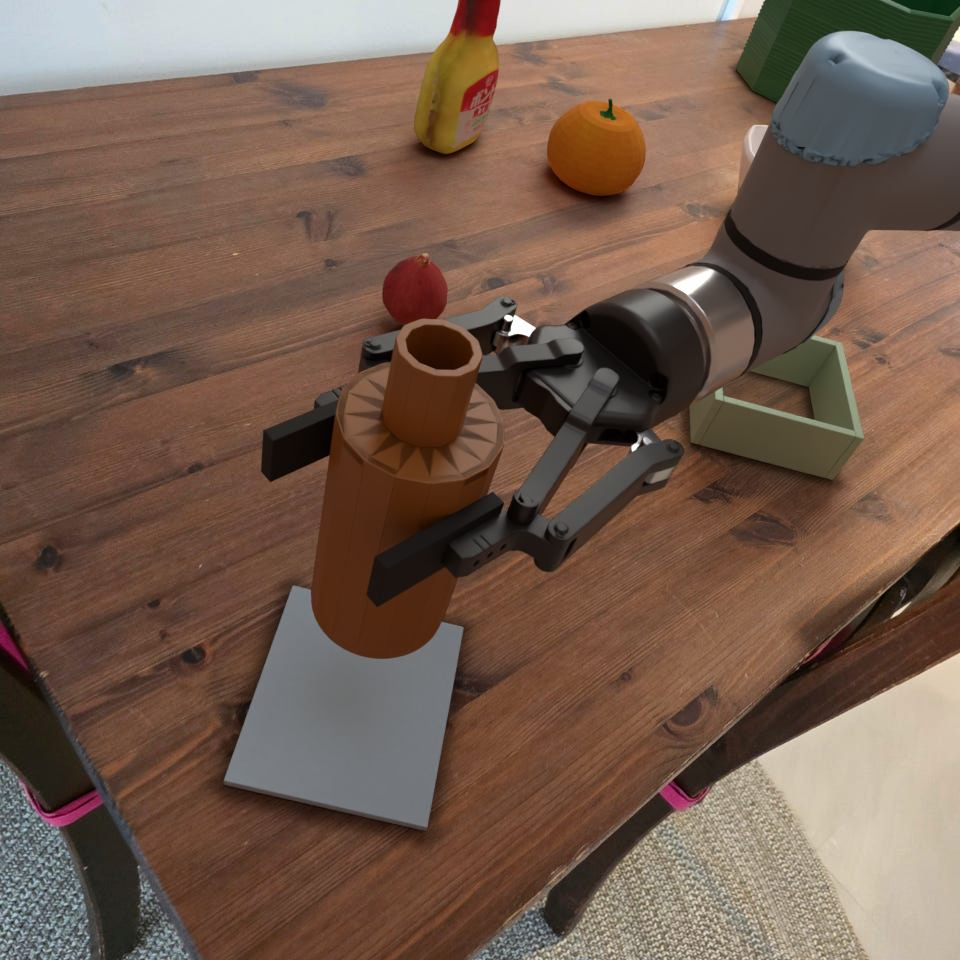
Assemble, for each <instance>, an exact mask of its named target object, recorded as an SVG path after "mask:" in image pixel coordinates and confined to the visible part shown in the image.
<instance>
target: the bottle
mask: <svg viewBox="0 0 960 960" xmlns="http://www.w3.org/2000/svg"><path fill="white" fill-rule="evenodd" d="M501 2H502V0H457V6H456V10H455V13H454V15H453V16H454V17H453V19H452V23H451V25H450V28H449V32H448V33H447V35H446V37H445V38H444V39H443V41H442V42H441V43H440V44H439V45H438V46H437V47H436V49H435V50H434V51H433V53H432V54H431V56H430V58H429V61H428V62H427V66H426V67H425V71H424V75H423V78H422V82H421V85H420V89H419V95H418V98H417V103H416V107H415V114H414V120H413V123H414V125H413V130H414V133H415V135H416V137H417V138H418V140H419V141H420V142H421V144H422V145H423V146H424V147H425V148H427V149H429V150H432V151H434V152H437V153H438V154H439V153H440V154H445V155H447V154H448V155H449V154H452V153H455V152H457V151H459V150H461V149H463V148H465V147H467V146H469V145H471V144H473V143H474V142H475V141H476V140H477V139H478V138H479V136H480V135H481V133H482V131H483V129H484V127H485V124H486V122H487V119H488V115H489V111H490V109H491V106H492V102H493V99H494V96H495V92H496V88H497V84H498V79H499V73H500V57H499V52H498V47H497V45H496V43H495V41H494V35H495V33H496V30H497V27H498V19H499V14H500V8H501Z"/></svg>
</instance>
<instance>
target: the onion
mask: <svg viewBox="0 0 960 960" xmlns="http://www.w3.org/2000/svg"><path fill="white" fill-rule="evenodd" d="M448 292H449V287H448V283H447V281H446V279H445V276H444V274H443V272H442V271H441V269H440V268H439V267H438V266H437V265H436V264H435V263H434V262H433V261H431V260H430V256H429V253H427V252H423V253H420V254H419V255H414V256H413V255H412V256H410V257H408V258H404V259H402V260H400V261H398V262H397V263H396V264H395V265H394V266H393V267H392V268H391V269H390V270H389V271H388V272H387V274H386V276H385V277H384V280H383V283H382V291H381V297H382V299H381V300H382V303H383V305H384V307H385V309H386V311H387V312H388V314H389V315H390V316H391V317H392V318H393V319H394V320H395V321H396V322H398V323H399V324H401V325H403V326H404V325H406V324H409V323H411V322H414V321H417V320H419V319H438V318H439V317H440V316H441V315H442V313H443V312H445V309H446V306H447V304H448Z"/></svg>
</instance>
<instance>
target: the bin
mask: <svg viewBox="0 0 960 960" xmlns="http://www.w3.org/2000/svg"><path fill="white" fill-rule="evenodd" d="M750 373H754V374H759V375H762V376H766V377H769V378H773V379H776V380H780V381H785V382H788V383H791V384H796V385H799V386H803V387H807V388H808V392H809V397H810V403H811V406H812V407H811V409H812V413H813V418H808V417H804V416H800V415H797V414H793V413H789V412H787V411H786V412H785V411H782V410H778V409H775V408H771V407H768V406H763V405H760V404H756V403H753V402H748V401H745V400H741V399H737V398H734V397H731V396H730V397H729V396H727V395H724V389H723V388H724V387H722V388H720V389H719V390H717V391H715V392H713V393H712V394H710V395H708V396H707V397H705V398H703V399H702V400H700V401H698V402H696V403H695V404H692V405H690V406H688V407H689V408H688V409H689V430H690V431H689V432H690V433H689V434H690V435H689V436H690V443H691V444H695V445H699V446H700V447H701V446H702V447H705V448H710V449H712V450H717V451H721V452H724V453H728V454H731V455H736V456H739V457H742V458H747V459H751V460H754V461H759V462H763V463H766V464H770V465H774V466H776V467H777V466H778V467H781V468H785V469H789V470H793V471H796V472H800V473H804V474H807V475H811V476H816V477H819V478H823V479H827V480H829V481H833V480H834V479H835V477H836V476H837V475H838V474H839V473H840V471H841V470H842V469H843V467H844V466H846V463H847V462H848V461H849V460H850V458H851V457H852V456H853V454H854V453H855V452H856V450H858V448H859V446H861V444H862V443H863V442H864V440H865V435H864V432H863V431H864V430H863V428H862V423H861V418H860V414H859V409H858V405H857V401H856V396H855V392H854V389H853V388H854V387H853V384H852V378H851V375H850V370H849V366H848V361H847V358H846V354H845V349H844V343H842V342H839V341H836V340H834V339H830V338H827V337H823V336H819V335H815V334H814V335H813V336H812V337H811V338H810V339H809V340H808V341H807V342H806V343H802V344H799V346H798V347H797V348H796V349H794V350H791V351H789V352H787V353H785V354H781V355H779V356H777V357H775V358H773V359H771V360H769V361H768V362H766V363H764V364H762V365H760V366H758V367H756V368H755V369H753V370H751V371H750Z"/></svg>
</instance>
